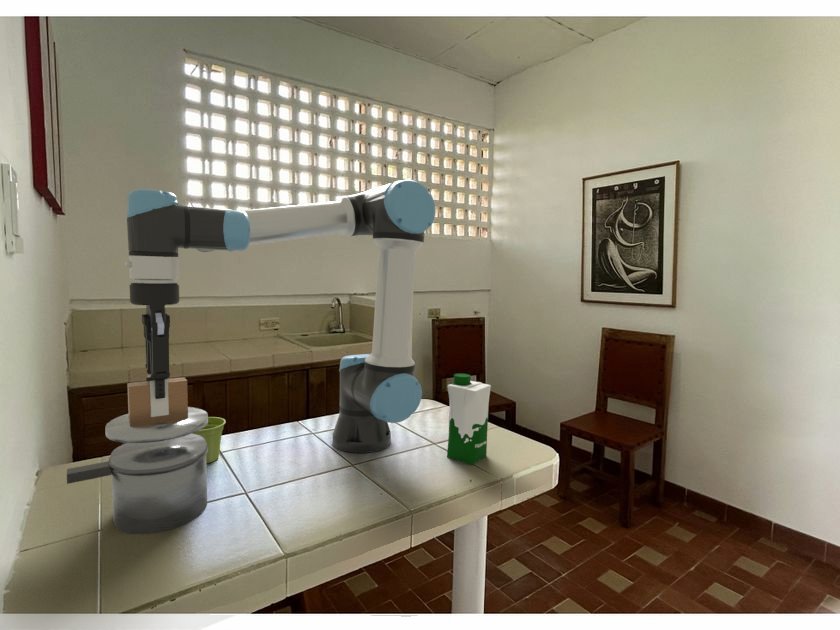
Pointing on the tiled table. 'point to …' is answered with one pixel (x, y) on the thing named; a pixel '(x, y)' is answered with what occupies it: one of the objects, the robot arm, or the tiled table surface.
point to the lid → (158, 428)
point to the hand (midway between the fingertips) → (158, 412)
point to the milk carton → (468, 419)
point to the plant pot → (212, 437)
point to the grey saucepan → (153, 483)
